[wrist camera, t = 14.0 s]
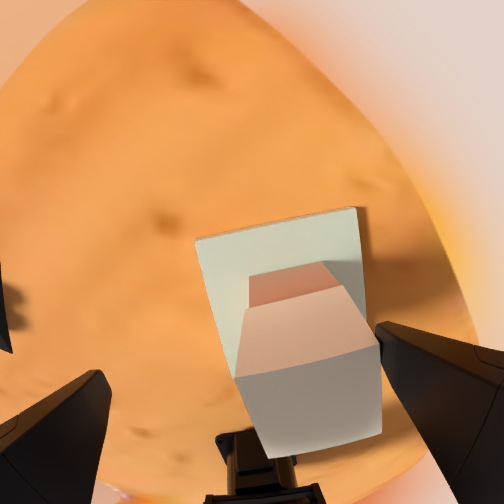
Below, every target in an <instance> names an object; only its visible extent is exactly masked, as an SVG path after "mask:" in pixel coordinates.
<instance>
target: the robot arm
mask: <svg viewBox="0 0 504 504" xmlns="http://www.w3.org/2000/svg"><path fill="white" fill-rule="evenodd" d="M375 337H376V339H377V340H378V342H379V346H380V361H381V365H382V367H383V369H384V371H385V373H386V375H387V378H388V380H389V382H390V384H391V386H392V388H393V390H394V392H395V393H396V395H397V396H398V398H399V400H400V401H401V403H402V405H403V406H404V408H405V410H406V411H407V413H408V415H409V416H410V418H411V420H412V421H413V423H414V425H415V426H416V428H417V430H418V431H419V433H420V435H421V437H422V438H423V440H424V442H425V443H426V445H427V447H428V449H429V450H430V452H431V454H432V456H433V457H434V459H435V461H436V463H437V465H438V466H439V468H440V470H441V472H442V474H443V475H444V477H445V479H446V481H447V483H448V485H449V486H450V489H451V490H452V492H453V494H454V496H455V498H456V500H457V502H458V504H504V351H498V350H494V349H489V348H485V347H481V346H477V345H474V346H473V344H470V343H466V342H462V341H458V340H455V339H451V338H447V337H443V336H440V335H436V334H432V333H429V332H425V331H422V330H418V329H414V328H411V327H407V326H404V325H400V324H397V323H393V322H390V321H385V322H381V323H378V324H376V326H375ZM111 397H112V391H111V388H110V386H109V384H108V382H107V380H106V378H105V375H104V373H103V372H102V371H101V370H89V371H87V372H86V373H84V374H83V375H81V376H79V377H78V378H76V379H75V380H73V381H71V382H70V383H68V384H67V385H65V386H63V387H62V388H60V389H59V390H57V391H55V392H54V393H52V394H50V395H49V396H47V397H46V398H44V399H42V400H41V401H39V402H37V403H36V404H34V405H33V406H31V407H29V408H28V409H26V410H24V411H23V412H21V413H20V414H19V415H16V416H15V417H13V418H11V419H10V420H8V421H6V422H4V423H3V424H1V425H0V504H91V500H92V495H93V490H94V485H95V480H96V475H97V470H98V465H99V461H100V456H101V452H102V448H103V443H104V439H105V435H106V431H107V425H108V417H109V410H110V404H111ZM215 443H216V445H217V447H218V449H219V451H220V453H221V455H222V457H223V459H224V461H225V463H226V465H227V491H228V495H213V494H212V495H206V498H205V502H203V504H326V501H325V499H324V497H323V494H322V492H321V489H320V487H319V484H318V483H313V484H311V485H308V486H302V487H298V485H297V480H296V476H295V471H294V467H293V466H295V465H296V464H297V461H296V456H295V455H290V456H284V457H278V458H271V459H268V457H267V455H266V452H265V450H264V448H263V446H262V443H261V441H260V439H259V437H258V434H257V432H256V430H251V431H245V432H239V433H232V434H225V435H218V436H216V438H215Z"/></svg>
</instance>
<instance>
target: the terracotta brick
mask: <svg viewBox="0 0 504 504" xmlns="http://www.w3.org/2000/svg"><path fill="white" fill-rule="evenodd" d="M337 286H341V285H340V284H339V282H338V281H337V280H336V279H335V277H334V276H333V275H332V274H331V272H330V271H329V270H328V269H327V268H326V266H325V265H324V264H323V263H322V262H317V263H312V264H307V265H303V266H298V267H293V268H288V269H283V270H278V271H273V272H268V273H263V274H258V275H253V276H249V308H252V307H256V306H260V305H265V304H269V303H273V302H277V301H282V300H286V299H290V298H294V297H298V296H302V295H306V294H310V293H314V292H318V291H322V290H326V289H329V288H333V287H337Z"/></svg>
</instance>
